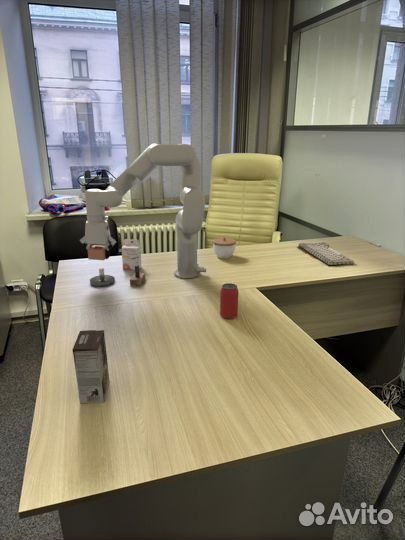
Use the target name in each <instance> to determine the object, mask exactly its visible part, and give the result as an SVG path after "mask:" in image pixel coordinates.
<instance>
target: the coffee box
mask: <svg viewBox="0 0 405 540" xmlns="http://www.w3.org/2000/svg"><path fill="white" fill-rule="evenodd" d="M72 355H73V356H72V357H73V362H74V369H75V376H76V384H77V391H78V399H79V404H94V403H95V404H98V403H104V402H105V401H106V396H107V392H108V389H109V388H108V387H109V383H110V374H109V364H108V353H107V345H106V337H105V330H104V329H101V330H97V329H93V330H91V329H88V330H79V333H78V334H77V337H76V340H75V343H74V345H73V348H72Z"/></svg>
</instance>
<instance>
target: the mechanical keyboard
mask: <svg viewBox="0 0 405 540" xmlns="http://www.w3.org/2000/svg"><path fill="white" fill-rule="evenodd" d="M296 249H298V250H299V251H301V252H302V253H304V254H306V255H308V256H310V257H311V258H313V259H315V260H318V261H320V262H321V263H323V264H324V265H325V266H328V267H329V268H330V267H342V266H343V267H344V266H349V265H353V264H355V262H354V261H355V260H353V259H350V258H349V257H348V256H346V255H344V254H342V253H341V252H339V251H337V249H333V248H332V247H330V244H329V243H327V242H325V241H321V242H320V241H319V242H299V243H298V246H297V247H296Z"/></svg>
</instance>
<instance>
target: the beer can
mask: <svg viewBox="0 0 405 540" xmlns="http://www.w3.org/2000/svg"><path fill="white" fill-rule="evenodd" d="M220 289H221V290H220V294H219V295H220V300H219V302H220V304H219V315H220V316H221V318H222V319H223V318H224V319H228V320H233V319H235V318H237V317H238V312H239V311H238V309H239V289H238V285H237V284H235V283H232V282H231V283H229V282H227V283H224V284H222V286H221V288H220Z"/></svg>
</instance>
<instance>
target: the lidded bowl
mask: <svg viewBox="0 0 405 540" xmlns="http://www.w3.org/2000/svg"><path fill="white" fill-rule="evenodd" d="M236 244H237V240H235V239H234V238H230V237H225V236H224V237H219V238H217V237H216V238H214V239H213V240H212V245H213V246H212V247H213V252H214V254H215V255H216V256H217V258H219V259H230V258H231V257H232V256H233V254H234V253H235V252H236Z"/></svg>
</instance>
